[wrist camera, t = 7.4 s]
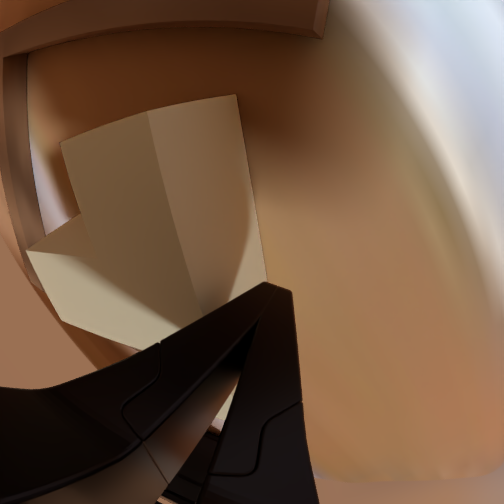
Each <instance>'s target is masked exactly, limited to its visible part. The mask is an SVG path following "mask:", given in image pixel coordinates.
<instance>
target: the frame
mask: <svg viewBox="0 0 504 504" xmlns="http://www.w3.org/2000/svg"><path fill="white" fill-rule="evenodd" d="M329 1H330V0H69V1H67V2H64V3H61V4H59V5H56V6H54V7H52V8H49V9H47V10H45V11H42V12H40V13H38V14H36V15H33V16H31V17H29V18H27V19H25V20H23V21H21V22H19V23H17V24H15V25H13V26H11V27H9V28H8V29H6V30H4V31H2V32H0V171H1V176H2V182H3V187H4V192H5V196H6V201H7V205H8V209H9V214H10V218H11V221H12V225H13V229H14V232H15V236H16V239H17V243H18V246H19V249H20V252H21V255H22V258H23V261H24V264H25V267H26V270H27V273H28V276H29V278H30V281H31V283H33V284H34V285H35V286H37V287H38V288H39V289H41V290H42V291H43V292H45V290H44V288H43V286H42V284H41V282H40V280H39V278H38V276H37V274H36V272H35V270H34V268H33V266H32V263H31V261H30V259H29V257H28V255H27V252H26V250H27V249H28V248H30V247H31V246H33V245H34V244H35V243H37V242H38V241H40V240H41V239H42V238H44V237H45V233H44V229H43V224H42V220H41V215H40V210H39V205H38V200H37V195H36V189H35V183H34V177H33V170H32V163H31V155H30V146H29V135H28V122H27V100H26V71H27V53H28V52H31V51H34V50H38V49H41V48H45V47H48V46H52V45H56V44H60V43H64V42H68V41H73V40H77V39H82V38H87V37H93V36H98V35H104V34H111V33H118V32H125V31H134V30H144V29H156V28H174V27H224V28H242V29H255V30H265V31H274V32H282V33H289V34H295V35H302V36H307V37H313V38H318V39H323V35H324V30H325V24H326V18H327V13H328V7H329ZM45 293H46V292H45ZM46 294H47V293H46ZM130 347H131V346H130ZM131 348H133V349H135V350H137V351H139V352H140V351H142V350H140V349H137V348H134V347H131Z"/></svg>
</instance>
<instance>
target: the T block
mask: <svg viewBox="0 0 504 504" xmlns="http://www.w3.org/2000/svg"><path fill="white" fill-rule="evenodd" d="M60 147H61V151H62V155H63V158H64V162H65V165H66V169H67V172H68V176H69V179H70V182H71V185H72V189H73V192H74V195H75V198H76V201H77V204H78V207H79V210H80V214H79V215H77V216H76V217H74V218H72V219H71V220H69V221H68V222H66V223H65V224H63V225H62V226H60V227H59V228H57V229H56V230H54V231H53V232H51V233H50V234H48V235H47V236H45V237H44V238H42V239H41V240H40V241H38V242H37V243H35V244H34V245H33V246H31V247H30V248H28V249H27V250H26V252H27V255H28V257H29V259H30V261H31V263H32V266H33V268H34V270H35V272H36V274H37V276H38V278H39V280H40V282H41V284H42V286H43V288H44V290H45V292H46V293H47V295H48V297H49V299H50V301H51V303H52V305H53V306H54V308H55V310H56V312H57V313H58V315H59V317H60V319H61V320H62V321H64V322H66V323H69V324H71V325H73V326H76V327H78V328H81V329H84V330H86V331H89V332H91V333H94V334H97V335H99V336H102V337H105V338H108V339H110V340H113V341H116V342H119V343H122V344H125V345H128V346H131V347H134V348H137V349H140V350H144V349H146V348H148V347H149V346H151V345H153V344H155V343H157V342H159V343H160V341H161V340H162V339H164V338H166V337H168V336H169V335H171V334H173V333H175V332H177V331H178V330H180V329H182V328H184V327H185V326H187V325H189V324H191V323H193V322H194V321H196V320H198V319H200V318H201V317H203V316H205V315H207V314H208V313H210V312H212V311H213V310H215V309H217V308H219V307H220V306H222V305H224V304H226V303H227V302H229V301H231V300H232V299H234V298H236V297H238V296H239V295H241V294H243V293H244V292H246V291H248V290H249V289H251V288H253V287H255V286H256V285H258V284H260V283H261V282H264V281H265V282H267V277H266V271H265V264H264V258H263V252H262V246H261V240H260V233H259V227H258V221H257V215H256V209H255V203H254V197H253V191H252V185H251V179H250V173H249V167H248V161H247V155H246V149H245V143H244V138H243V132H242V126H241V120H240V114H239V109H238V103H237V97H236V94H234V95H227V96H220V97H214V98H208V99H202V100H196V101H191V102H186V103H181V104H176V105H171V106H166V107H162V108H158V109H153V110H149V111H145V112H142V113H139V114H136V115H132V116H129V117H126V118H123V119H120V120H117V121H114V122H111V123H108V124H106V125H103V126H100V127H97V128H95V129H92V130H89V131H87V132H84V133H82V134H79V135H77V136H74V137H72V138H69V139H67V140H65V141H62V142H60ZM236 386H237V384H236ZM236 386H235V388H234V389H233V391H232V392H231V394H230V395H229V397H228V399H227V400H226V402H225V403H224V405H223V406H222V408H221V409H220V411H219V412H218V414H217V415H216V417H215V418H218V419H222V420H225V419H226V416H227V413H228V410H229V407H230V404H231V401H232V398H233V395H234V392H235V389H236Z"/></svg>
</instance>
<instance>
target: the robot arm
mask: <svg viewBox="0 0 504 504" xmlns="http://www.w3.org/2000/svg"><path fill="white" fill-rule="evenodd" d="M236 384H237V386H236ZM235 386H236V389H235V392H234V395H233V398H232V401H231V404H230V407H229V410H228V413H227V416H226V419H225V422H224V425H223V428H222V431H221V434H220V436H219V437H217V436H214V435H212V434H210V433H207V432H206V430H207V429H208V427H209V426H210V424H211V423H212V421H213V420H214V418H215V417H216V415H217V414H218V412H219V411H220V409H221V408H222V406H223V405H224V403H225V402H226V400H227V399H228V397H229V395H230V394H231V392H232V391H233V389H234V388H235ZM159 497H160V498H162V499H164V500H167V501H168V502H170V503H172V504H319V499H318V494H317V490H316V485H315V480H314V476H313V471H312V466H311V462H310V456H309V450H308V445H307V439H306V431H305V422H304V410H303V403H302V388H301V376H300V365H299V354H298V344H297V333H296V324H295V314H294V305H293V296H292V292H291V291H290V290H288V289H285V288H282V287H280V286H277V285H274V284H271V283H268V282H265V281H264V282H261V283H260V284H258V285H256V286H255V287H253V288H251V289H249V290H248V291H246V292H244V293H243V294H241V295H239V296H238V297H236V298H234V299H232V300H231V301H229V302H227V303H226V304H224V305H222V306H220V307H219V308H217V309H215V310H213V311H212V312H210V313H208V314H207V315H205V316H203V317H201V318H200V319H198V320H196V321H194V322H193V323H191V324H189V325H187V326H185V327H184V328H182V329H180V330H178V331H177V332H175V333H173V334H171V335H169V336H168V337H166V338H164V339H162V340H161V341H160V343H159V342H157V343H155V344H153V345H151V346H149V347H148V348H146V349H144V350H142V351H140V352H138V353H136V354H134V355H132V356H130V357H128V358H126V359H124V360H121V361H119V362H117V363H114V364H112V365H110V366H107V367H105V368H102V369H100V370H97V371H95V372H92V373H89V374H87V375H84V376H82V377H79V378H76V379H74V380H71V381H68V382H65V383H62V384H60V385H56V386H53V387H49V388H43V389H19V388H9V387H0V504H162V503H160V502H158V501H157V499H158V498H159Z"/></svg>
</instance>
